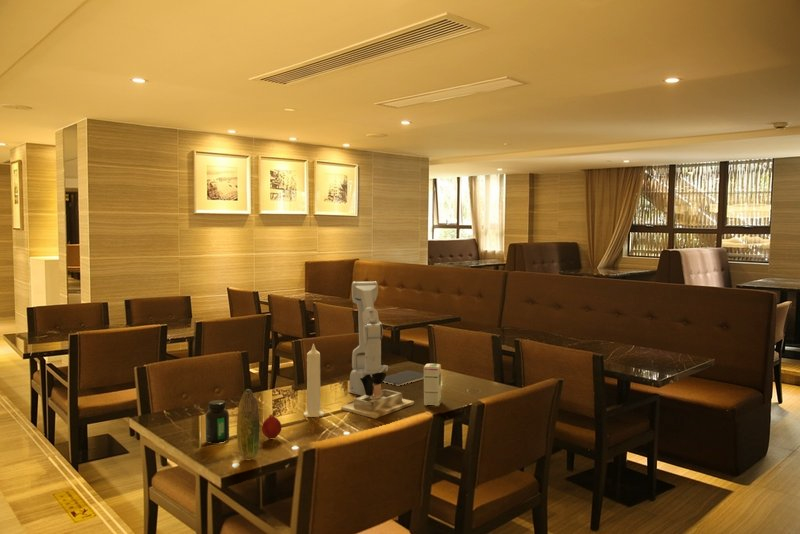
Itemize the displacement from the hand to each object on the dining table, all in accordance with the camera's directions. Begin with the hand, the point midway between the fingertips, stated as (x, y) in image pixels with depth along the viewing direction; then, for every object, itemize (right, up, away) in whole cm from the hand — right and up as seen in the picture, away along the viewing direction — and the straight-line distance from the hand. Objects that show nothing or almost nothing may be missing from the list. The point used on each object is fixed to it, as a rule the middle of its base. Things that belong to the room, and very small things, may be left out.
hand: (372, 394), depth 215 cm
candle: (-20, -6, -7) cm, 22 cm away
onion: (-29, -7, -32) cm, 44 cm away
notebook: (+11, -3, +43) cm, 45 cm away
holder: (+2, -5, +3) cm, 6 cm away
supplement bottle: (-46, -8, -33) cm, 57 cm away
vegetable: (-33, -8, -47) cm, 58 cm away
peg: (0, -4, 0) cm, 4 cm away
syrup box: (+22, -5, +7) cm, 23 cm away
